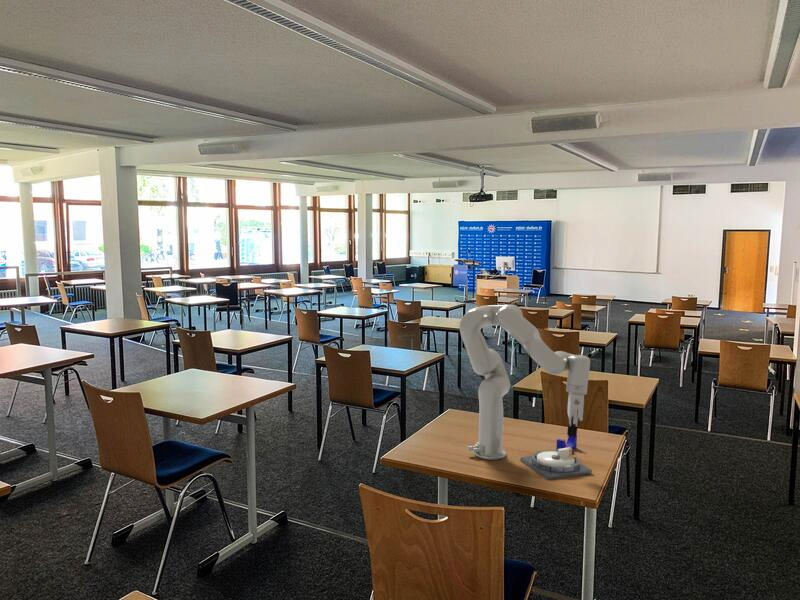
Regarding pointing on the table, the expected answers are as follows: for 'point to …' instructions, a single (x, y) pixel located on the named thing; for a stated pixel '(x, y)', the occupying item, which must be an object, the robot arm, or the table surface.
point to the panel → (556, 474)
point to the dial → (557, 457)
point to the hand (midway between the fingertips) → (571, 435)
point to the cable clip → (570, 443)
